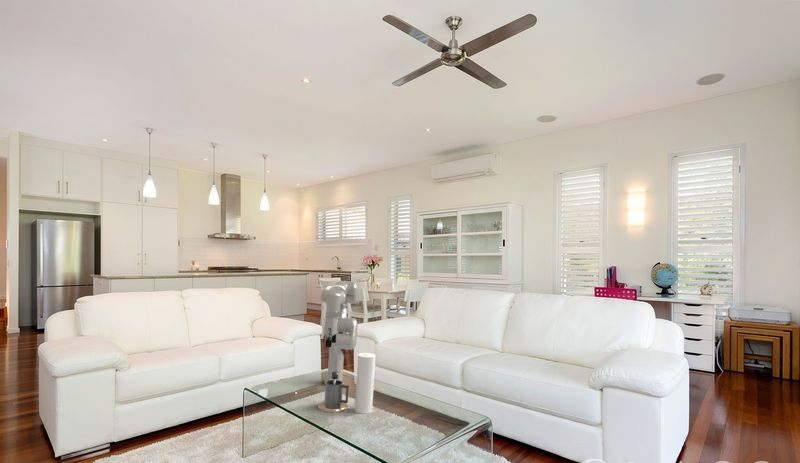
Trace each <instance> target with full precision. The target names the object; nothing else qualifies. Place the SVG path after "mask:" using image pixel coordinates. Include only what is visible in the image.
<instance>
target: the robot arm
mask: <svg viewBox="0 0 800 463" xmlns="http://www.w3.org/2000/svg"><path fill="white" fill-rule="evenodd" d="M320 301H321V302H322V303H325V304H326V310H325V318H326V320H325V325H324V326H325V327H324V328H325V329H324V336H325V348H328V362H327V363H328V365H327V377H326V378H327V379H325V380H324V385H326V382H327V381H329V380H334V379H332V372H334V371H336V372H339V373H338V379H336V380H339V381H342V380H343V378H344V377H343V375H344V374H343V373H344V363H345V362H344V361H345V355H344V352H343V351H342V350H354V349H355V348H356V345H357V335H358V320H357V318H354V317H348V313H349V312H348V309H347V307H346V306H345V305H344V304H357V302H358V301H359V288H358V284H357V283H356V282H355V281H349V280H347V281H346V280H339V281H337V282H336V283H335V284H334V285H330V286H326V287H324V288H323V289H322V291H321V293H320ZM344 382H345V381H344ZM344 382H343V384H344V385H345V383H344Z"/></svg>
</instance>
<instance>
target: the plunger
mask: <svg viewBox="0 0 800 463" xmlns="http://www.w3.org/2000/svg"><path fill="white" fill-rule="evenodd" d="M338 373H339V372H336V371H334V372H332V379H334V383H333V385H335V381H336V379H338Z"/></svg>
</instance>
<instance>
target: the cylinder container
mask: <svg viewBox="0 0 800 463" xmlns="http://www.w3.org/2000/svg"><path fill="white" fill-rule="evenodd" d="M376 356H377V355H376V354H375V353H371V352H361V353H358V354H357V367H356V368H357V369H356V383H355V384H356V385H355V397H354V398H355V399H354V412H355V413H357V414H363V415H364V414H370V413H372V412H373V400H374V389H375V388H374V387H375V384H374V383H375V373H376V372H375V371H376V370H375V369H376Z"/></svg>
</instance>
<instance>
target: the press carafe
mask: <svg viewBox="0 0 800 463" xmlns="http://www.w3.org/2000/svg"><path fill="white" fill-rule="evenodd" d="M333 383H334V380H329V381H327V382H326V384H325V389H324V390H325V391H324V401H321V402H319V403H318V404H317V409H318V410H320V411H322V412H325V413H341V412H343V411H346V410H347V409H348V402H349V389H350V385H348V384H347V385H346V384H344V385H343V382H342V381H339V380H336V381H335V385H333ZM343 388H344V389H345V399H343V390H344V389H343Z"/></svg>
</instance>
